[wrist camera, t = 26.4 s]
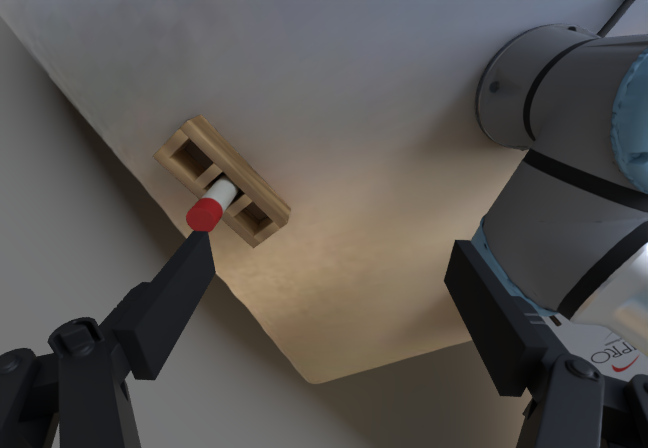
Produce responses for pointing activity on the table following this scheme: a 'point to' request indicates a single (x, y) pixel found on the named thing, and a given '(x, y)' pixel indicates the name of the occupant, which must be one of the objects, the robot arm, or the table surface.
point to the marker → (212, 205)
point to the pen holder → (235, 169)
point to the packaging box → (599, 348)
